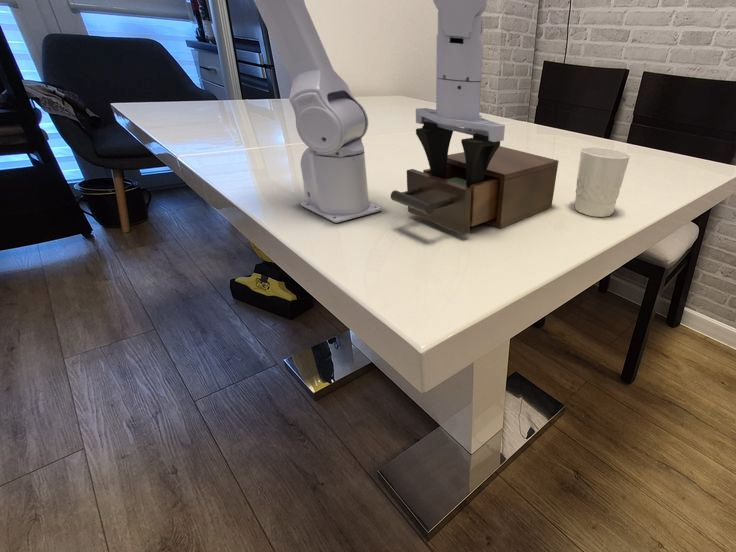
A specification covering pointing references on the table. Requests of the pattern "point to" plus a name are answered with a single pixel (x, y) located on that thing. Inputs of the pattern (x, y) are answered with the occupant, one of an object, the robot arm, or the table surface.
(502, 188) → the cabinet
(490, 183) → the drawer
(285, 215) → the table surface
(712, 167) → the table surface
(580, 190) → the white cup
